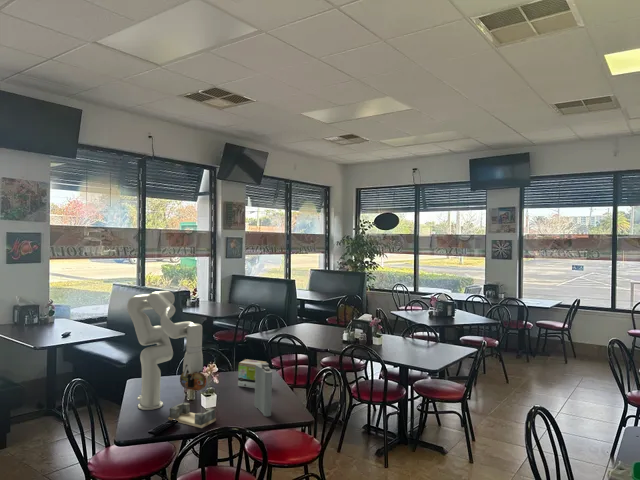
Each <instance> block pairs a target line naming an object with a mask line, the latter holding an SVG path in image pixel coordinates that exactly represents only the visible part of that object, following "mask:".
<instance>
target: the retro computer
mask: <svg viewBox="0 0 640 480" xmlns="http://www.w3.org/2000/svg"><path fill="white" fill-rule="evenodd" d="M262 363H268V362H267V361H263V360H256V359H255V360H254V359H248V358H247V359H246V358H244V359H243V360H242V361H240V362H238V370H237V371H238V372H237V373H238V374H237V375H238V377H237V387H245V388H252V389H255V371H256V364H262Z"/></svg>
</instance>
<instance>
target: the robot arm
mask: <svg viewBox="0 0 640 480" xmlns="http://www.w3.org/2000/svg"><path fill="white" fill-rule="evenodd" d="M174 304H175V294H174V293H173V292H172V291H171V290H159V291H157V290H156V291H153V292H151V293H145V294H137V295H134V296H132V297H130V298H129V299H128V301H127V309H126V310H127V314H128V315H129V318H130V319H131V321H132V324H133V327H134V330H135V334H136V337H137V340H138V343H139V344H140V345H141V346H148V347H145V348H144V349H143V350H141V352H140V355H139V359H140V364H141V389H140V390H141V392H140V393H141V395H138V397H137V398H136V400H137V401H139V403H138V404H137V408H138V409H140V410H142V411H151V410H157V409H160V408H162V407H163V405H164V402H163V401H161V379H162V378H161V376H162V375H161V373H162V371H161V369H160V367H159V365H158V364H162V363H165V362H169V361H171V360H172V359H173V356H174V351H173V346H172V343H171V339H174V340H176V339H179V338H180V339H181V338H182V339H183V338H186V339H185V340H186V343H185V345H186V347H185V348H186V349H185V352H184V356H183V364H182V373H183V372H184V376H185V377H187V379H188V387H191V388H193V387H194V379H193V373H195V372H199V373H202V372H203V370H204V369H203V368H204V358H203V357H204V356H203V325H202V324H200V323H194V322H193V321H189V320H188V321H179V322H173V321H172V320H171V318H172V317H173V316H174V315H175V313H176V307H175V306H174ZM147 310H148V311H149V310H154V312H155V313H156V314H157V315H158V316H159V317H160V321H159V323H160V325H154V326H153V325H152V322H151V319H150V317H149V316H148V315H147V314H146V313H145V312H144V311H147ZM150 345H151V346H150ZM152 345H153V346H152ZM190 374H191V376H190Z"/></svg>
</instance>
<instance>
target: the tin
mask: <svg viewBox="0 0 640 480" xmlns="http://www.w3.org/2000/svg"><path fill="white" fill-rule="evenodd" d="M190 376H191V374H190ZM193 379H194V387H193V388H191V387H188V379H187V377H185V376H184V372H183V371H182V372H181V374H180V377H179V382H180V385H181V386H182V388H184V389H186V390H192V391H197V392H198V391H201V390H203V389H205V387H206V386H207V377H206V376H205V374H204V373H203V372H201V373H199V372H195V373H193Z"/></svg>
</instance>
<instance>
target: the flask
mask: <svg viewBox="0 0 640 480" xmlns="http://www.w3.org/2000/svg"><path fill="white" fill-rule="evenodd" d="M272 385H273V370H272V369H271V368H270V367H269V363H268V362H267V363H262V364H256V371H255V388H254V408H256V409H257V408H258V410H259V411H260V412H261V414H262V415H263V416H264V417H271V416H272V396H273V395H272V389H273V386H272Z"/></svg>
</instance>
